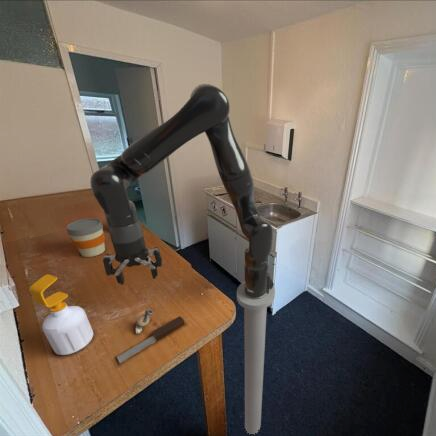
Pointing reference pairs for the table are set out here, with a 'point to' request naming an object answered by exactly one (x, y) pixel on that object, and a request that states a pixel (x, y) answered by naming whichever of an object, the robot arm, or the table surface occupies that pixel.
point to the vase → (143, 320)
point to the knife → (153, 338)
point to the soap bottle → (62, 320)
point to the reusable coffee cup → (87, 236)
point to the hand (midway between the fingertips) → (139, 279)
